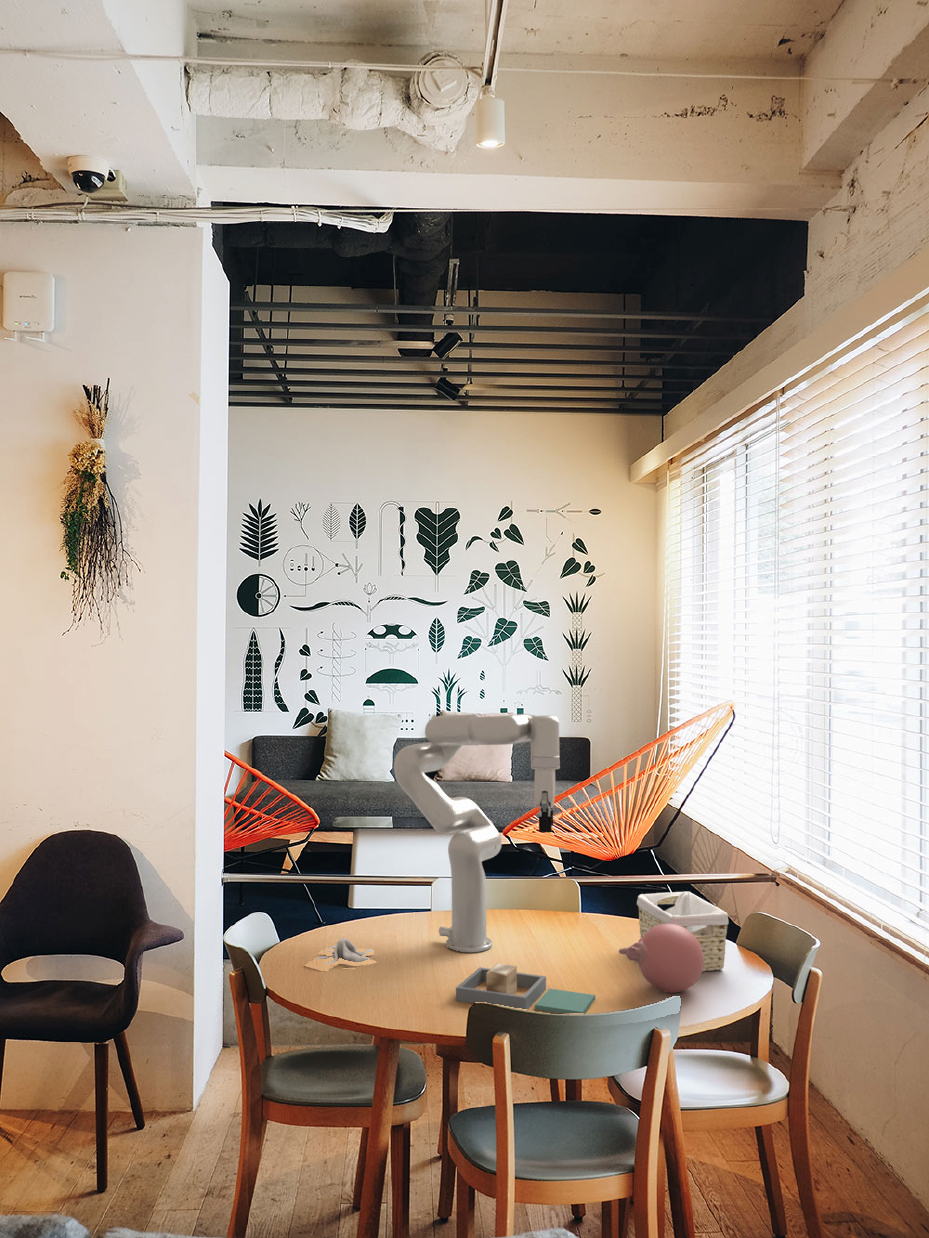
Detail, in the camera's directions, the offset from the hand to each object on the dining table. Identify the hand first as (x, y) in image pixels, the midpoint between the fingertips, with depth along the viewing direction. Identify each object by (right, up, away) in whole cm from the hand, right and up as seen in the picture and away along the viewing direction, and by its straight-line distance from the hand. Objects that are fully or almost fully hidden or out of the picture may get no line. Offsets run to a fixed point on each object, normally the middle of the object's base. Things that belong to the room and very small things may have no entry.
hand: (546, 828), depth 240 cm
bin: (-13, -33, -25) cm, 43 cm away
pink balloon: (+25, -34, -22) cm, 48 cm away
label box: (-13, -34, -25) cm, 44 cm away
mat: (+2, -33, -31) cm, 45 cm away
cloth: (-52, -35, 0) cm, 63 cm away
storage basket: (+36, -35, 0) cm, 50 cm away
